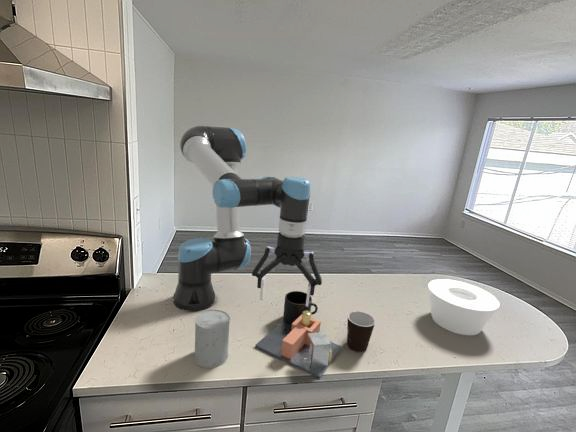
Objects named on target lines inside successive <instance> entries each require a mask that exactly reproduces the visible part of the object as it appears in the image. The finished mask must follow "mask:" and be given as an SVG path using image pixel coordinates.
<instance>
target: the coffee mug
mask: <svg viewBox="0 0 576 432" xmlns="http://www.w3.org/2000/svg"><path fill="white" fill-rule="evenodd" d="M375 325H376V319H375V317H374V316H372V315H371V314H370V313H368V312H365V311H360V310H354V311H350V312H349V313H348V314H347V327H346V328H347V329H346V330H347V331H346V332H347V333H346V346H347V347H348V349H350V350H351V351H353V352H355V353H364V352H366V351H367V349H368V346H369V343H370V339H371V337H372V334H373V331H374V327H375Z"/></svg>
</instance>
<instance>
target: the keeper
mask: <svg viewBox="0 0 576 432" xmlns="http://www.w3.org/2000/svg"><path fill="white" fill-rule="evenodd" d="M308 338H309V340H310V342H311V344H312V346H313V347H312V355H311V363H310V366H311V368H314V367H323V366H328V362H331V356H332V350H331V349H330V346H331V343H330V342H331V341H330V340H329V337H328V336H327V334H326V333H325V332H323V331H319V333H308ZM329 341H330V342H329ZM331 363H332V362H331ZM328 367H329V366H328Z"/></svg>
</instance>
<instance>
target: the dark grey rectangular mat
mask: <svg viewBox="0 0 576 432" xmlns="http://www.w3.org/2000/svg"><path fill="white" fill-rule="evenodd" d="M291 327H292V325H290V324H287V323H285V322H284V320H282V321H281V322H280V323H279V324H277V326H275V327H274V328H273V329H272V330H271V331H270V332H269V333H267V334H266V335H265V336H264V337H263V338H261V340H259V341H258V342H257V343H256V344H255V348H256V349H258V350H260V351H262V352H264V353H266V354H267V355H268V354H269V355H270V356H272V357H274V358H276V359H278V360H281V361H283V362H285V363H287V364H289V365H291V366H293V367H295V368H297V369H298V370H299V369H300V370H302V371H303V372H306V373H307V374H310V375H311V376H314V377H315V378H318V379H321V377H322V376H323V375H324V373H325V372H326V371H327V370H328V368H329V366H330V365H331V363H333V360H335V358H336V356H338V354H339V352H340V351H341V349H342V346H341V345H340V344H337V343H335V342H332V341H330V340H329V342H330V343H331V346H330V349H331V350H332V356H331V362H328V366H323V367H314V368H311V366H310V363H311V355H312V347H313V346H312V344H311V345H310V346H309V345H307V344H304V345H303V346H302V348H301V349H300V350H299V351H298V352H297V353H296V354H295V356H294V357H293V358H292V359H289V358H287V357H285V356H282V355H281V347H282V340H283V339H284V338H285V337H286V336H287V335H288V334H289V333H290V332H291Z"/></svg>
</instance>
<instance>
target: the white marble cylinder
mask: <svg viewBox="0 0 576 432" xmlns="http://www.w3.org/2000/svg"><path fill="white" fill-rule="evenodd" d="M194 321H195V325H194V326H195V329H194V335H195V336H194V356H193V357H194V361H195V363H196V364H197V365H198V366H200V367H201V368H202V367H203V368H206V369H207V368H208V369H211V368H213V369H214V368H217V367H219V366H222V365H223V364H225V363H226V362H227V360H228V357H229V344H230V342H229V339H230V321H231V316H230V315H229V314H228V313H227V312H226V311H223V310H220V309H208V310H203V311H202V312H200V313H198V314H197V315H196V317H195V320H194Z"/></svg>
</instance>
